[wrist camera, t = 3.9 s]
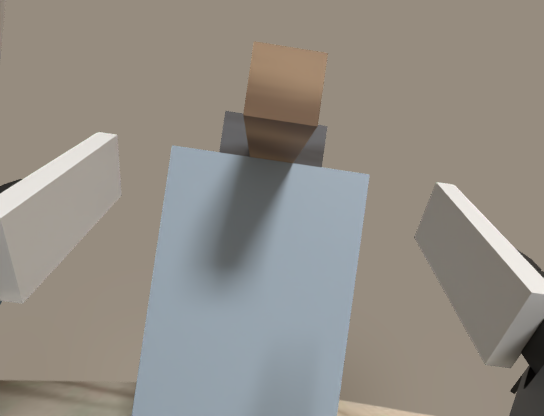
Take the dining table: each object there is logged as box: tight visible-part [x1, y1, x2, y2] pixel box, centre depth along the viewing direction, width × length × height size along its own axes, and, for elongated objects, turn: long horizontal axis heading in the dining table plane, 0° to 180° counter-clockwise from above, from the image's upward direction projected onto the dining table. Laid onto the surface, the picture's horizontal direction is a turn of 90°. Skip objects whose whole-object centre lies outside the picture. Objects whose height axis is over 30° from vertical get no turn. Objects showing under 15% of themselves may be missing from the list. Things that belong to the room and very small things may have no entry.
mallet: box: [220, 42, 328, 167], centre depth 28 cm, size 23×10×5 cm, turn 2°
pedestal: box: [132, 146, 369, 416], centre depth 35 cm, size 14×16×30 cm
